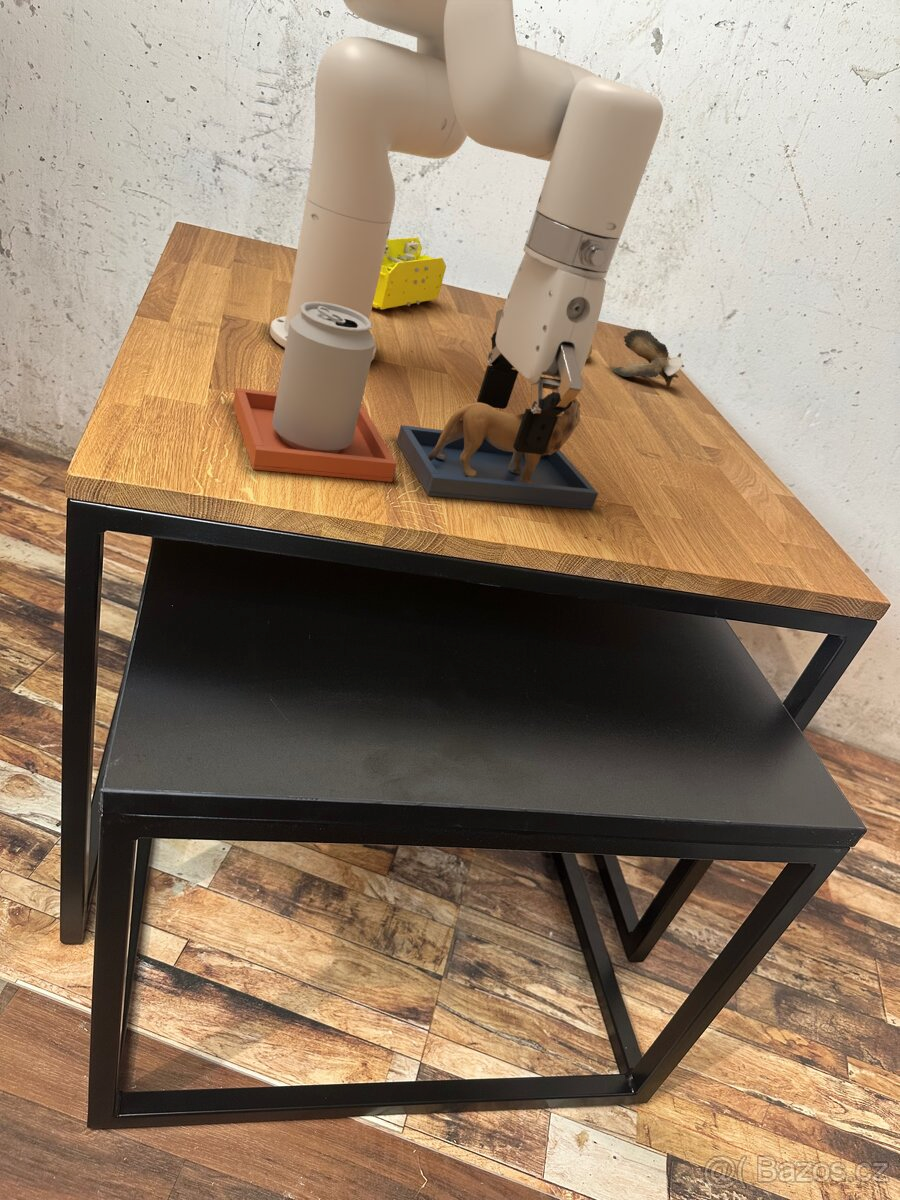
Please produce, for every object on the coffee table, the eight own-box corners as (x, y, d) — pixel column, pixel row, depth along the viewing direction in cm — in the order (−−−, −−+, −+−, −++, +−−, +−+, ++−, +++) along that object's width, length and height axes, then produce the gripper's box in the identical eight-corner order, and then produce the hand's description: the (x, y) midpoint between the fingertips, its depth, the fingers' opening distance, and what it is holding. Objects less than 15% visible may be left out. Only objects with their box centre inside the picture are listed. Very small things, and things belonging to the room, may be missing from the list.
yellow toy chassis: (407, 291, 134) (420, 235, 130) (437, 304, 133) (452, 249, 128) (348, 300, 122) (361, 239, 117) (381, 315, 120) (395, 254, 116)
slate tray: (396, 442, 86) (400, 424, 85) (548, 459, 94) (554, 443, 93) (428, 495, 78) (433, 477, 77) (591, 509, 86) (598, 493, 85)
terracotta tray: (232, 405, 83) (235, 387, 82) (358, 421, 88) (362, 403, 87) (252, 469, 73) (256, 449, 72) (392, 482, 79) (397, 463, 78)
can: (337, 467, 77) (366, 337, 71) (258, 440, 77) (280, 307, 71) (360, 439, 83) (389, 317, 77) (287, 413, 84) (310, 290, 77)
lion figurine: (543, 466, 90) (572, 385, 86) (565, 491, 87) (597, 408, 82) (413, 453, 84) (437, 365, 79) (431, 480, 80) (457, 389, 76)
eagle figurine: (666, 368, 134) (616, 342, 132) (694, 341, 128) (642, 313, 126) (658, 406, 131) (607, 380, 129) (686, 380, 124) (633, 352, 122)
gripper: (655, 287, 69) (580, 475, 78) (565, 226, 82) (510, 395, 91) (576, 269, 66) (507, 468, 75) (495, 209, 79) (445, 385, 88)
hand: (509, 427), depth 83 cm, fingers open, 9 cm apart
